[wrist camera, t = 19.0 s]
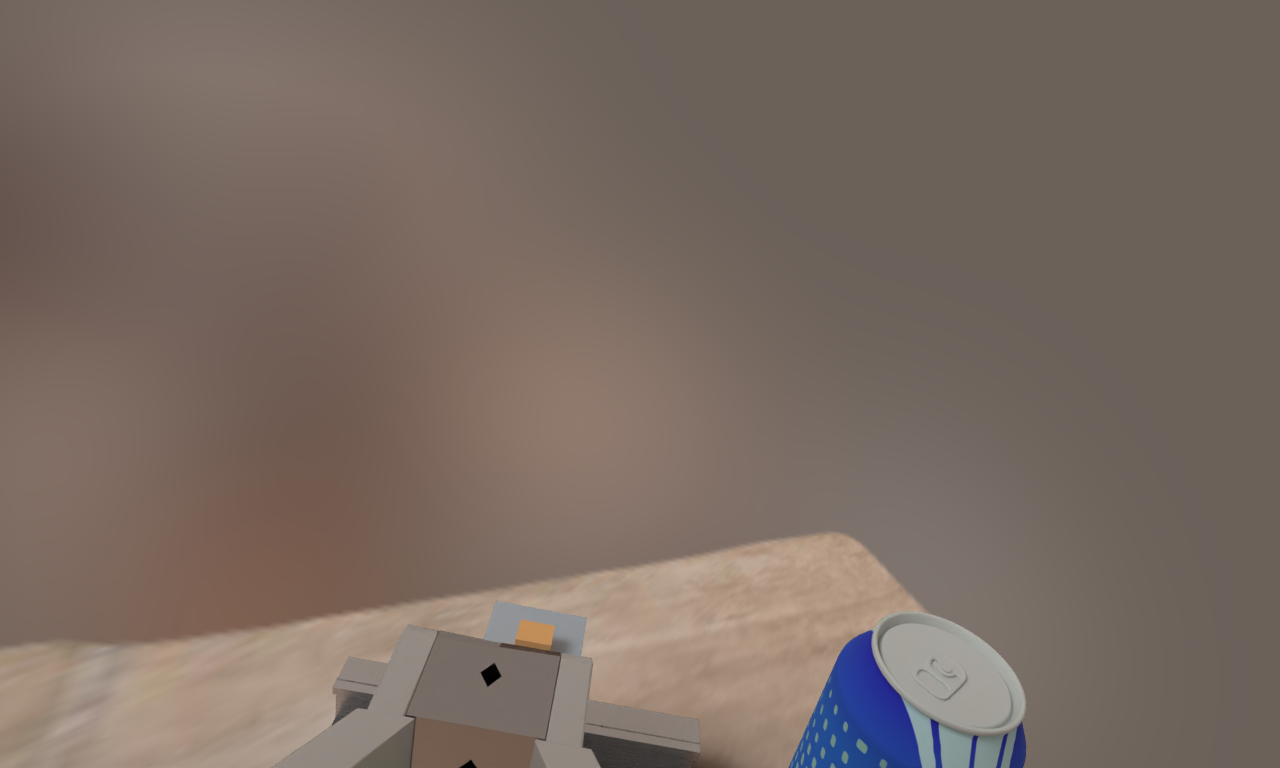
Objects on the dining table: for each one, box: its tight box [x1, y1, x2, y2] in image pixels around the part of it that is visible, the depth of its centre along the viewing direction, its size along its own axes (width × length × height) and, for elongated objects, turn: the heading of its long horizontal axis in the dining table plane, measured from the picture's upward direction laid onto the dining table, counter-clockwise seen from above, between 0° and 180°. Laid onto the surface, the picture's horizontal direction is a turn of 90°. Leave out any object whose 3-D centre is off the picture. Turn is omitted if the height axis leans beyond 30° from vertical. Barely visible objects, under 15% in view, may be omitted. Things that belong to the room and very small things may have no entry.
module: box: [484, 601, 587, 656], centre depth 35 cm, size 4×5×12 cm
